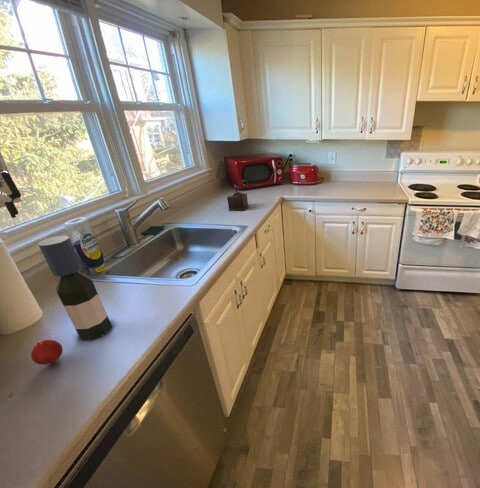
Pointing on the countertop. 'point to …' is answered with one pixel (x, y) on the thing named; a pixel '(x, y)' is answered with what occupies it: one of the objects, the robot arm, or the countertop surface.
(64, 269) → the cup
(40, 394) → the countertop surface
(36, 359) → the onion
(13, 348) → the countertop surface
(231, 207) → the manual coffee grinder
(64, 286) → the wine bottle
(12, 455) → the countertop surface
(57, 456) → the countertop surface
